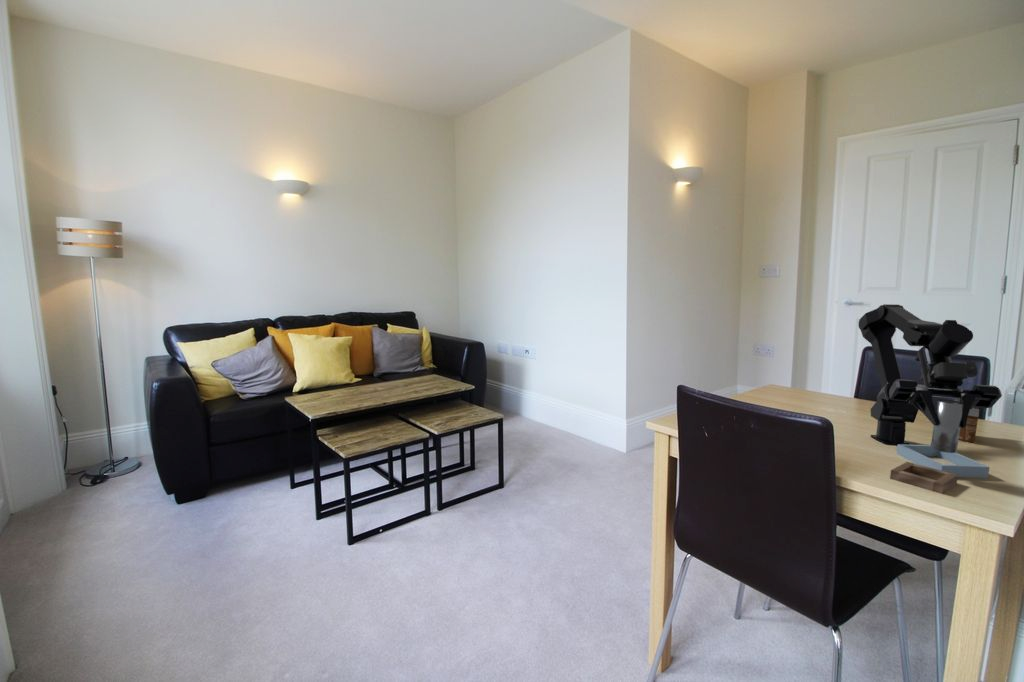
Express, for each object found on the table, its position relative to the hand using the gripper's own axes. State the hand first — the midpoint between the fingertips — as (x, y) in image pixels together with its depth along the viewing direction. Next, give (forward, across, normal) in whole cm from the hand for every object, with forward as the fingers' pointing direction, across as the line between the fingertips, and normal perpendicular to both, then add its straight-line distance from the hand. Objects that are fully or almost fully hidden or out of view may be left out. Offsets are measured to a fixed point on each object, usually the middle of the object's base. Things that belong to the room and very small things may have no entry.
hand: (949, 426), depth 107 cm
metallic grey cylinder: (+3, 0, +5) cm, 6 cm away
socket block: (+12, -5, +6) cm, 15 cm away
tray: (+3, +2, +15) cm, 16 cm away
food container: (-18, +16, +38) cm, 46 cm away
